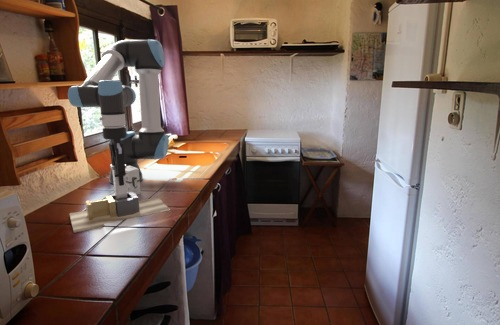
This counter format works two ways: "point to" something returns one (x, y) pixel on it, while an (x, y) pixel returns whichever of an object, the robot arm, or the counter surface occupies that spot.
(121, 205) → the dark grey hollow housing
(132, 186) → the ink box
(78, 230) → the mounting board
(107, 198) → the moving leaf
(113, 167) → the grey long block
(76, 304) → the counter surface
